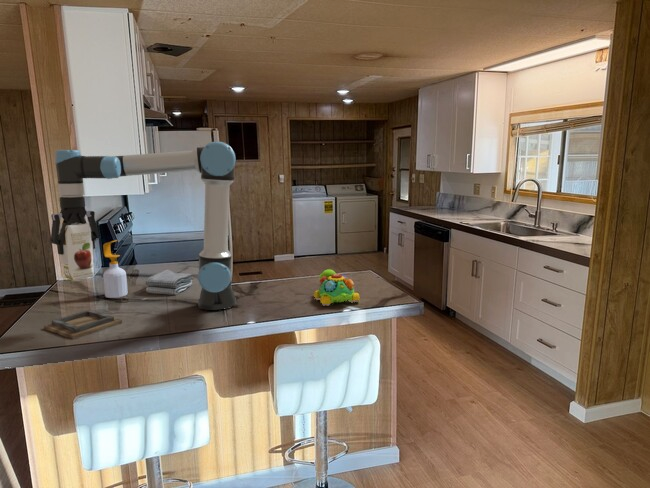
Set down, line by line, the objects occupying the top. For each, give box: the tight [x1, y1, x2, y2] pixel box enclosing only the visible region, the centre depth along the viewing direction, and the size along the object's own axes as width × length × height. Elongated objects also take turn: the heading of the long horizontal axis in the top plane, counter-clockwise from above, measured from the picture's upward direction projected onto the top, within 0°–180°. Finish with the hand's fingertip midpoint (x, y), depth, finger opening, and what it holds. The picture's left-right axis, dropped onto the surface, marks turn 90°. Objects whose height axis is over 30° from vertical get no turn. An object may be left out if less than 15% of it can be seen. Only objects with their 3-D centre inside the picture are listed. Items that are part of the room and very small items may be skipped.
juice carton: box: [59, 222, 95, 281], centre depth 157 cm, size 8×9×19 cm
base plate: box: [43, 309, 123, 340], centre depth 161 cm, size 18×18×3 cm
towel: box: [145, 268, 194, 296], centre depth 206 cm, size 15×18×8 cm
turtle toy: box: [313, 269, 361, 304], centre depth 190 cm, size 17×23×12 cm
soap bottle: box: [102, 239, 128, 299], centre depth 196 cm, size 9×9×25 cm
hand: (78, 260), depth 157 cm, fingers closed on juice carton, 9 cm apart
